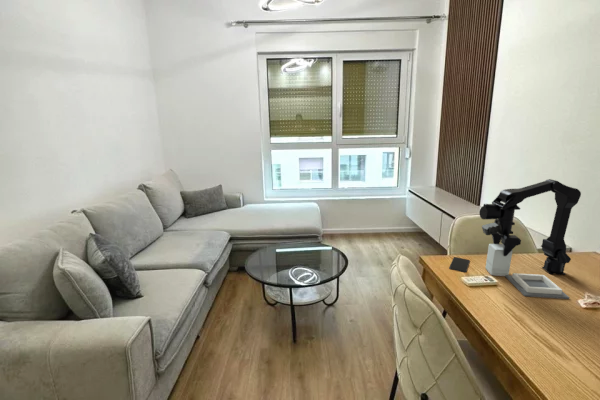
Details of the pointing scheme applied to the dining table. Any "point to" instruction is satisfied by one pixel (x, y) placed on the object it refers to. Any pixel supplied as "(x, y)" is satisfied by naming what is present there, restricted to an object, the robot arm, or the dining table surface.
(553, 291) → the dock
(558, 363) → the dining table surface
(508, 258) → the supplement box
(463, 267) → the smartphone
